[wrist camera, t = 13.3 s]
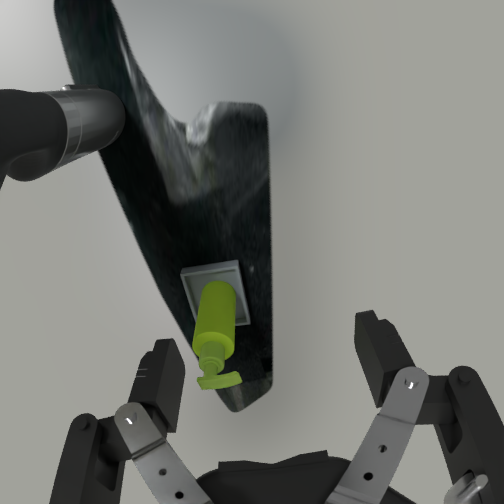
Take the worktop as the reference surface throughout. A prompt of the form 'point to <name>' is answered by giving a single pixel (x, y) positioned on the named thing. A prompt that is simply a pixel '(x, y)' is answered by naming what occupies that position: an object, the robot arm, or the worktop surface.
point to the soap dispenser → (215, 335)
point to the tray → (222, 271)
